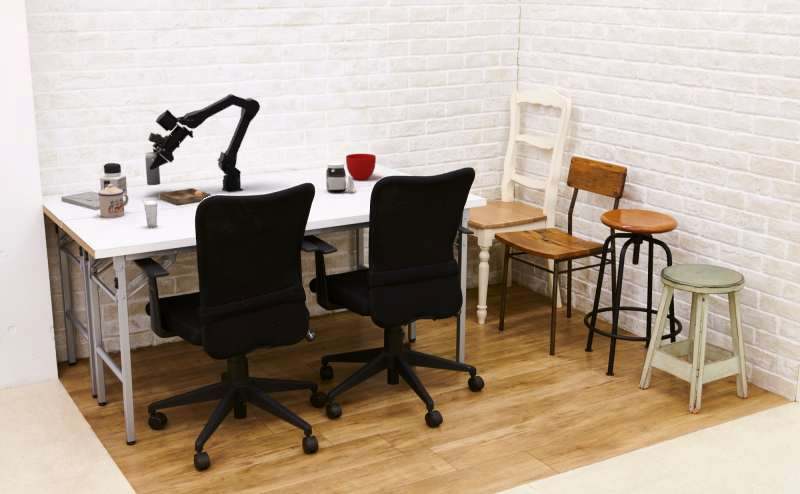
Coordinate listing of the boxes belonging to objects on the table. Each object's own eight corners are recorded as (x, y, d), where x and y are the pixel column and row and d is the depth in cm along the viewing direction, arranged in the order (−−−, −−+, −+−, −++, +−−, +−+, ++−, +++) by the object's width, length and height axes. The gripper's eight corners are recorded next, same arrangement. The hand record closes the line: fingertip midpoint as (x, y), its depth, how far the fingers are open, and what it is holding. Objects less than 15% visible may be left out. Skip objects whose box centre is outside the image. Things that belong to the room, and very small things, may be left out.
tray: (192, 194, 421) (192, 188, 421) (210, 200, 411) (210, 194, 410) (159, 199, 413) (159, 193, 412) (177, 205, 402) (176, 199, 401)
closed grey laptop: (95, 211, 394) (126, 205, 404) (95, 206, 394) (126, 200, 404) (61, 201, 410) (92, 195, 420) (61, 196, 409) (91, 190, 419)
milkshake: (144, 224, 372) (142, 197, 369) (159, 224, 372) (157, 197, 370) (142, 227, 368) (140, 200, 365) (157, 227, 368) (156, 199, 365)
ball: (200, 197, 413) (200, 189, 412) (204, 198, 411) (203, 190, 410) (193, 198, 411) (192, 190, 410) (197, 199, 409) (196, 191, 408)
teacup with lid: (109, 219, 380) (107, 188, 377) (94, 215, 386) (92, 184, 383) (136, 213, 389) (134, 182, 386) (121, 209, 395) (119, 179, 392)
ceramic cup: (381, 174, 460) (381, 152, 458) (371, 182, 444) (371, 159, 442) (353, 173, 463) (352, 151, 460) (342, 181, 447) (342, 158, 445)
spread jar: (324, 189, 431) (324, 161, 428) (351, 188, 433) (351, 160, 430) (330, 195, 419) (329, 167, 416) (357, 194, 422) (357, 165, 419)
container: (118, 197, 416) (116, 165, 412) (101, 196, 417) (98, 164, 414) (127, 193, 423) (125, 162, 419) (109, 192, 424) (107, 161, 421)
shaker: (156, 182, 420) (154, 151, 417) (162, 184, 416) (160, 153, 413) (144, 183, 417) (142, 153, 414) (150, 185, 413) (148, 154, 410)
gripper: (156, 122, 420) (130, 151, 419) (163, 128, 403) (136, 158, 403) (177, 140, 425) (151, 168, 424) (185, 147, 408) (158, 177, 407)
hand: (149, 167), depth 414 cm, fingers closed on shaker, 5 cm apart
